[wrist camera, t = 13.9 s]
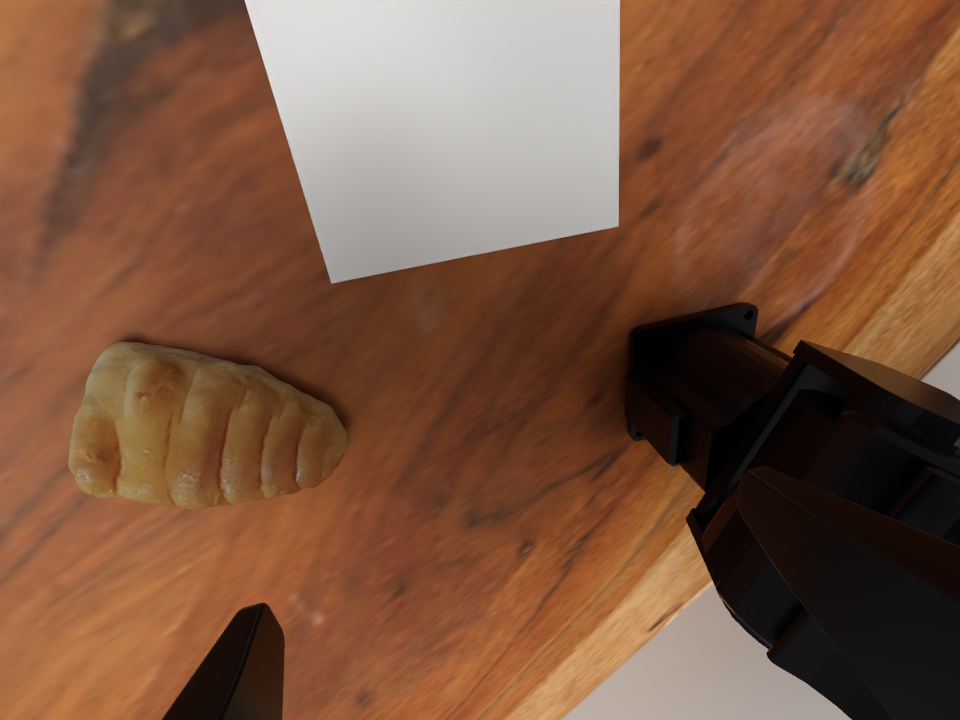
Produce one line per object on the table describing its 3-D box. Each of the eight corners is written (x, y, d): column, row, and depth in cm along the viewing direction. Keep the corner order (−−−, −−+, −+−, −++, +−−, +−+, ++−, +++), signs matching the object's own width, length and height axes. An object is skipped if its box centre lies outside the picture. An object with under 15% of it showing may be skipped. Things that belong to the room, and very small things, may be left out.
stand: (596, -152, 14) (620, -180, 13) (601, 219, 19) (618, 226, 18) (217, -118, 12) (199, -147, 11) (333, 271, 18) (331, 283, 16)
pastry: (362, 369, 20) (360, 418, 17) (333, 488, 23) (327, 551, 19) (105, 324, 17) (42, 373, 14) (106, 467, 20) (53, 537, 16)
